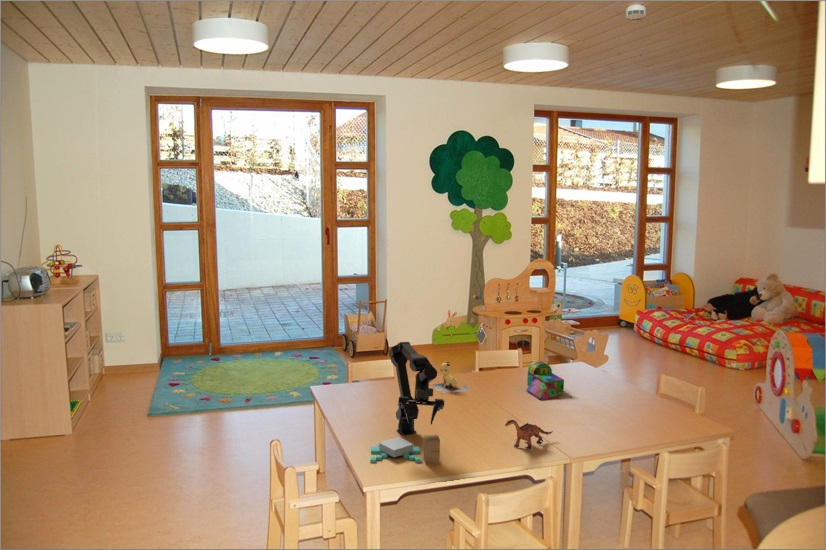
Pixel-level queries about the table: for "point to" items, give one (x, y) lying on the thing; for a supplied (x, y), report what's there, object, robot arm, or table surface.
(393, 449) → the slate block
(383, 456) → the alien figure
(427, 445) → the walnut block
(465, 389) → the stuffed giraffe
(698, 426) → the table surface
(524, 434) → the brown animal figure
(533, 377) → the block puzzle
